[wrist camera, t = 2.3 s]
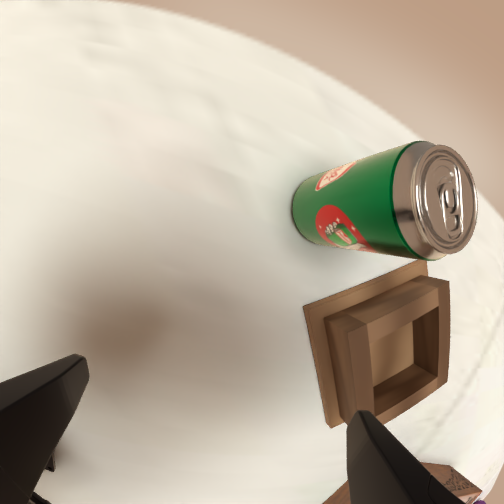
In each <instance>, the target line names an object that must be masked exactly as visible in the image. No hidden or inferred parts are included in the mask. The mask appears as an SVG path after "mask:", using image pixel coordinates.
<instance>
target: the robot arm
mask: <svg viewBox="0 0 504 504" xmlns="http://www.w3.org/2000/svg"><path fill="white" fill-rule="evenodd" d="M88 381H89V370H88V365H87V361H86V358H85V357H83V356H81V355H78V354H72V355H70V356H67V357H65V358H62V359H60V360H57V361H55V362H52V363H50V364H47V365H45V366H42V367H40V368H37V369H35V370H32V371H30V372H27V373H24V374H22V375H19V376H17V377H14V378H12V379H9V380H6V381H4V382H1V383H0V504H51V503H50V502H49V501H47V500H45V499H43V498H42V497H41V496H39V495H38V494H37V493H35V492H34V488H35V486H36V484H37V482H38V480H39V478H40V476H41V474H42V472H43V470H44V469H46V470H49V471H51V472H54V470H55V462H54V455H53V451H54V449H55V447H56V446H57V444H58V442H59V440H60V438H61V436H62V435H63V433H64V431H65V429H66V427H67V426H68V424H69V422H70V420H71V419H72V417H73V415H74V413H75V411H76V409H77V406H78V404H79V402H80V399H81V397H82V395H83V392H84V390H85V388H86V386H87V383H88ZM346 434H347V476H348V485H349V494H350V503H351V504H466V503H465V502H464V501H462V500H461V499H460V498H458V497H457V496H456V495H454V494H453V493H452V492H451V491H450V490H448V489H447V488H446V487H445V486H444V485H443V484H442V483H441V482H440V481H438V480H437V479H436V478H435V477H434V476H433V475H432V474H431V473H430V472H429V471H428V470H427V469H426V468H425V467H424V466H423V465H422V464H421V463H420V462H419V461H418V460H417V459H416V458H415V457H414V456H413V455H412V454H411V453H410V452H409V451H408V450H407V449H406V448H405V447H404V446H403V445H402V444H401V443H400V442H399V441H398V440H397V439H396V438H395V437H394V436H393V435H392V433H391V432H390V431H389V430H388V429H387V428H386V427H385V426H384V425H383V424H382V423H381V422H380V421H379V420H378V419H377V418H376V417H375V416H374V415H373V414H372V413H371V412H370V411H369V410H357V411H356V412H355V414H354V415H353V417H352V419H351V421H350V422H349V424H348V426H347V431H346Z"/></svg>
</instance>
